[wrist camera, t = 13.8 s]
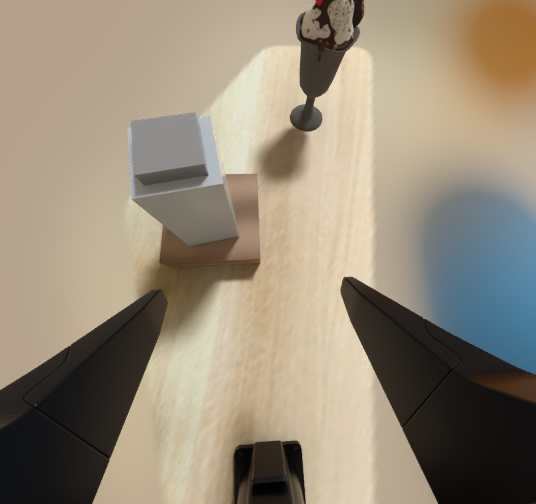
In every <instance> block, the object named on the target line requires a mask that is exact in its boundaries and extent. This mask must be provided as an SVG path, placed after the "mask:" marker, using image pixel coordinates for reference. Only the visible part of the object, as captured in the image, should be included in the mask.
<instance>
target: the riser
mask: <svg viewBox="0 0 536 504" xmlns="http://www.w3.org/2000/svg"><path fill="white" fill-rule="evenodd" d="M226 178H227V182H228V186H229V190H230V193H231V198H232V203H233V208H234V213H235V218H236V223H237V228H238V233H239V237H235V238H230V239H225V240H220V241H215V242H210V243H205V244H200V245H195V246H189V245H187V244H186V243H185V242H184V241H182V240H181V239H180V238H179V237H177V236H176V235H175V234H174V233H173V232H171V231H170V230H169V229H168V228H166V227H165V226H164V225H163V232H162V243H161V253H160V263H161V264H164V265H166V266H169V267H179V266H204V265H228V264H253V263H260V240H259V214H258V187H257V174H226Z"/></svg>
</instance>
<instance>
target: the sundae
mask: <svg viewBox="0 0 536 504" xmlns="http://www.w3.org/2000/svg"><path fill="white" fill-rule="evenodd" d="M363 16H364V0H316V1H315V2H314V3H313V4H312V5H311V6H310V7H309V9H308V10H307V11H306V12H304V13H302V14H301V15H300V16H299V17H298V20H297V24H296V33H297V37H298V39H299V41H300V42H301V58H300V87H301V88H302V90H303V92H304V93H305V94H306V95H307V100H306V104H305V105H299V106H297V107H296V108H294V109H293V110H292V112H291V121H292V123H293V124H294V125H295V126H296V127H297V128H299V129H302V130H313V129H316V128H317V127H319V126H320V124H321V122H322V114H321V112H320V111H319V110H318V109H317V108H315V107H314V106H313V105H314V101H315V98H316V97H319V96H321V95H322V94H324V93H325V92H326V91H327V90H328V88H329V86H330V84H331V83H332V81H333V79H334V77H335V75H336V72H337V70H338V68H339V65H340V63H341V61H342V59H343V57H344V54H345V52H346V51H347V50H349V49H350V47H351V46H352V45H353V44H354V43H355V42H356V41H357V39H358V37H359V34H360V30H359V28H358V27H357V25H358V24H359V23H360V21H361V19H362V18H363Z"/></svg>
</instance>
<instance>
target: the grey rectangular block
mask: <svg viewBox="0 0 536 504" xmlns="http://www.w3.org/2000/svg"><path fill="white" fill-rule="evenodd" d="M128 144H129V163H130V180H131V199H132V200H133V201H135V202H136V203H137V204H138V205H139V206H141V207H142V208H143V209H144V210H146V211H147V212H148V213H149V214H150V215H152V216H153V217H154V218H155V219H157V220H158V221H159V222H160V223H162V224H163V225H164V226H165V227H166V228H168V229H169V230H170V231H171V232H173V233H174V234H175V235H176V236H177V237H179V238H180V239H181V240H182V241H184V242H185V243H186V244H187V245H189V246H195V245H200V244H205V243H210V242H215V241H220V240H225V239H230V238H235V237H239V233H238V228H237V223H236V218H235V213H234V208H233V203H232V198H231V193H230V190H229V186H228V182H227V178H226V174H225V171H224V167H223V163H222V159H221V156H220V152H219V148H218V144H217V140H216V137H215V133H214V129H213V125H212V122H211V118H210V116H207V117H199V118H197V115H196V113H188V114H181V115H173V116H165V117H158V118H151V119H142V120H135V121H131V127H128Z"/></svg>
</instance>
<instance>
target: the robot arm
mask: <svg viewBox="0 0 536 504" xmlns="http://www.w3.org/2000/svg"><path fill="white" fill-rule="evenodd" d="M341 295H342V298H343V301H344V304H345V307H346V310H347V313H348V315H349V318H350V321H351V323H352V325H353V327H354V329H355V331H356V333H357V336H358V338H359V340H360V342H361V344H362V346H363V348H364V350H365V352H366V354H367V356H368V358H369V361H370V363H371V365H372V367H373V369H374V371H375V373H376V375H377V377H378V379H379V381H380V383H381V385H382V388H383V390H384V392H385V393H386V396H387V398H388V400H389V402H390V404H391V406H392V408H393V410H394V412H395V414H396V417H397V419H398V421H399V423H400V425H401V427H402V428H403V432H404V433H405V435H406V438H407V440H408V442H409V444H410V446H411V448H412V450H413V452H414V454H415V456H416V459H417V461H418V463H419V465H420V467H421V469H422V471H423V473H424V475H425V477H426V479H427V481H428V483H429V486H430V488H431V490H432V492H433V494H434V496H435V498H436V500H437V502H438V504H536V374H533V373H530V372H527V371H525V370H522V369H520V368H517V367H515V366H513V365H511V364H509V363H507V362H505V361H503V360H501V359H499V358H497V357H495V356H493V355H491V354H489V353H488V352H486V351H484V350H482V349H480V348H478V347H476V346H474V345H472V344H470V343H468V342H466V341H464V340H462V339H460V338H459V337H457V336H455V335H452V334H451V333H449V332H447V331H445V330H444V329H442V328H440V327H438V326H437V325H435V324H433V323H431V322H430V321H428V320H426V319H423V317H421V316H419V315H417V314H416V313H414V312H412V311H410V310H409V309H407V308H405V307H404V306H402V305H400V304H398V303H397V302H395V301H393V300H392V299H390V298H388V297H386V296H384V295H382V294H381V293H379V292H378V291H376V290H374V289H373V288H371V287H369V286H367V285H366V284H364V283H362V282H360V281H359V280H357V279H355V278H353V277H344V278H343V281H342V285H341ZM166 309H167V300H166V297H165V295H164V292H163V290H161V289H156V290H151V291H150V292H148V293H147V294H145V295H144V296H142V297H141V298H140V299H138V300H137V301H135V302H134V303H132V304H131V305H129V306H128V307H126V308H125V309H123V310H122V311H120V312H119V313H117V314H116V315H114V316H113V317H111V318H110V319H108V320H107V321H106V322H104V323H103V324H101V325H100V326H98V327H97V328H95V329H94V330H92V331H91V332H89V333H88V334H86V335H85V336H83V337H82V338H80V339H79V340H77V341H76V342H74V343H73V344H71V346H68V347H67V348H65V349H64V350H62V351H61V352H60V353H58V354H57V355H55V356H53V357H52V358H51V359H49V360H47V361H46V362H45V363H43V364H41V365H40V366H38V367H37V368H35V369H33V370H32V371H30V372H29V373H27V374H25V375H24V376H22V377H21V378H19V379H17V380H16V381H14V382H13V383H11V384H9V385H8V386H6V387H5V388H3V389H1V390H0V504H92V503H93V500H94V498H95V495H96V493H97V490H98V488H99V485H100V483H101V480H102V478H103V475H104V473H105V470H106V468H107V465H108V463H109V458H110V457H111V455H112V452H113V450H114V447H115V445H116V442H117V440H118V437H119V435H120V432H121V430H122V427H123V425H124V422H125V420H126V417H127V415H128V412H129V410H130V407H131V405H132V402H133V400H134V397H135V395H136V392H137V390H138V387H139V385H140V382H141V380H142V377H143V375H144V372H145V370H146V367H147V365H148V362H149V360H150V357H151V355H152V352H153V350H154V347H155V345H156V342H157V340H158V337H159V334H160V331H161V327H162V324H163V320H164V316H165V313H166ZM295 447H298V449H297V450H295V449H294V448H295ZM239 451H240V452H242V454H241V455H239V454H238V452H239ZM235 504H306V500H305V487H304V474H303V461H302V449H301V445H300V443H299V442H298V441H285V442H281V441H268V442H256V443H255V444H249V445H239V446H238V447H236V449H235Z"/></svg>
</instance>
